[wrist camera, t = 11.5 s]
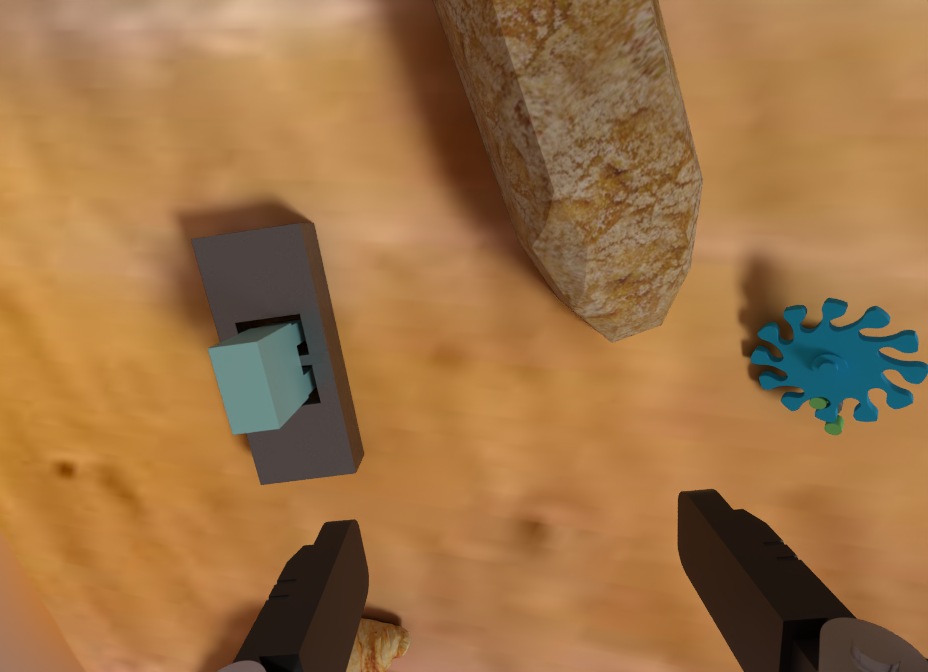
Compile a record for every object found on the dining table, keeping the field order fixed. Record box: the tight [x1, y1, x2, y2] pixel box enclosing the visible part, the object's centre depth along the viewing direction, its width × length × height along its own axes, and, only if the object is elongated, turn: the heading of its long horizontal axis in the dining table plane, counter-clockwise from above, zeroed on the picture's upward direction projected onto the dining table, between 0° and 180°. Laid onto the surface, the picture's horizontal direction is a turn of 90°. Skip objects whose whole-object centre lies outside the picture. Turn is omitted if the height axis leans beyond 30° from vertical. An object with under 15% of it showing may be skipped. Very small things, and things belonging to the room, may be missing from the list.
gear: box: [751, 298, 928, 435], centre depth 34 cm, size 11×6×10 cm
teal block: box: [208, 319, 317, 435], centre depth 32 cm, size 6×3×8 cm, turn 8°
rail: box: [191, 223, 364, 485], centre depth 35 cm, size 20×8×3 cm, turn 8°
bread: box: [433, 0, 703, 343], centre depth 27 cm, size 36×11×10 cm, turn 21°
